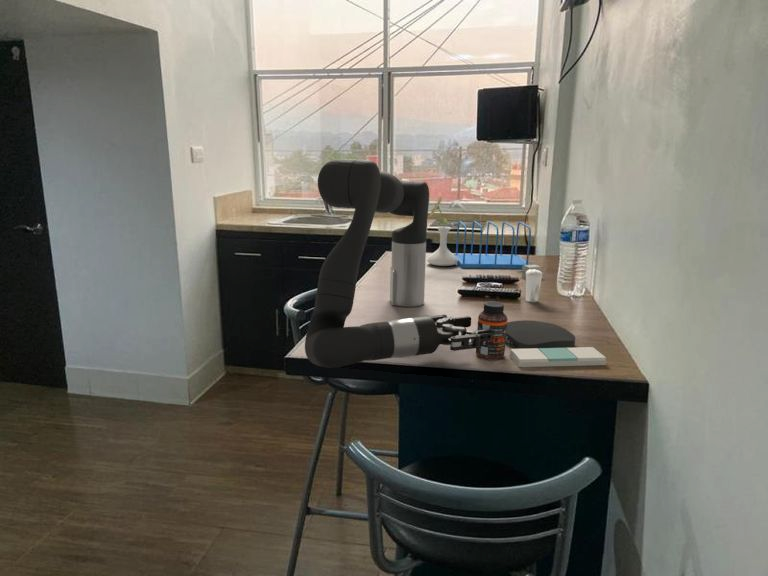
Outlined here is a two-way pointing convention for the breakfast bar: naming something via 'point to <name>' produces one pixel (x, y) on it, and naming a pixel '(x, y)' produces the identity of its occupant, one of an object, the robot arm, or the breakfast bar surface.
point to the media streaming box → (538, 335)
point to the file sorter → (489, 259)
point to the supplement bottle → (498, 323)
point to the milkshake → (533, 284)
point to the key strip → (557, 357)
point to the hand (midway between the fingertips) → (481, 327)
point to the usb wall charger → (527, 267)
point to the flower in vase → (442, 243)
